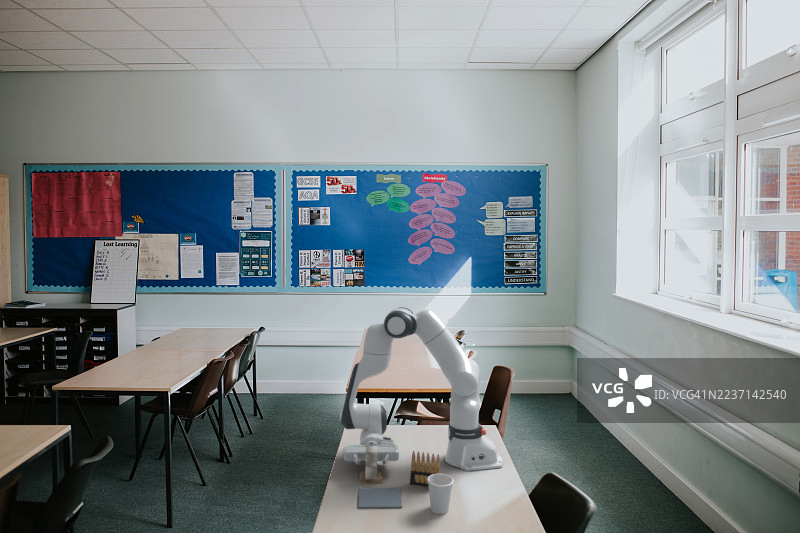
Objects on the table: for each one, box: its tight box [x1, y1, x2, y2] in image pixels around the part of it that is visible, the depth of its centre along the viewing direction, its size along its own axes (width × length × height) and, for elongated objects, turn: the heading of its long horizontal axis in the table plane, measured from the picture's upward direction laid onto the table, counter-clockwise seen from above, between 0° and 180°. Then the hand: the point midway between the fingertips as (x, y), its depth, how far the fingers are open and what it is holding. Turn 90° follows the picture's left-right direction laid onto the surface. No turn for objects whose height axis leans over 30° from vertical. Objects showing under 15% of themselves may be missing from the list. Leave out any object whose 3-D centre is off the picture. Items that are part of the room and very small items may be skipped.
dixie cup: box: [427, 473, 454, 515], centre depth 166 cm, size 8×8×10 cm
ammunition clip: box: [409, 450, 441, 488], centre depth 181 cm, size 11×2×12 cm, turn 75°
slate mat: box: [358, 487, 403, 510], centre depth 172 cm, size 14×12×1 cm
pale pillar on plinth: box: [359, 446, 383, 484], centre depth 185 cm, size 8×6×11 cm
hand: (371, 462), depth 184 cm, fingers open, 8 cm apart
